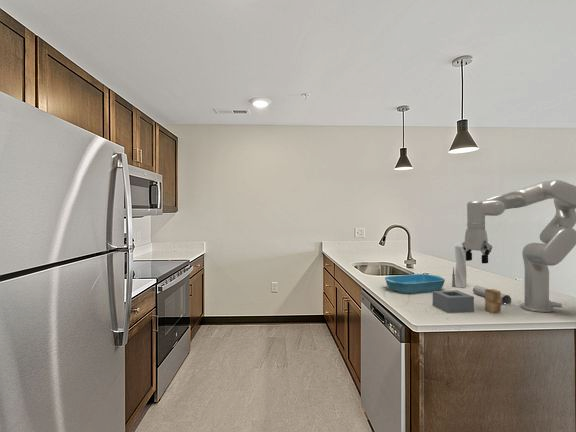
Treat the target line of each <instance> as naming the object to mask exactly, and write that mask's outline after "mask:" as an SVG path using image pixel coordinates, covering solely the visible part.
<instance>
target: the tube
mask: <svg viewBox="0 0 576 432" xmlns="http://www.w3.org/2000/svg"><path fill="white" fill-rule="evenodd" d="M485 289H488V288H486V287H484V286H481V285H475V286H473V287H472V292H473V293H474V294H475V295H477V296H480V297H483V298H485ZM504 303H506V304H509V305H510V304H511V303H512V298H511V296H510V295H509V294H505V293H502V292H501V304H502V305H504ZM504 306H505V305H504Z"/></svg>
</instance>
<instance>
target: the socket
mask: <svg viewBox="0 0 576 432" xmlns="http://www.w3.org/2000/svg"><path fill="white" fill-rule="evenodd" d="M432 306H433V307H436V308H437V309H440V310H441V311H444V312H446V313H448V314H449V313H450V314H451V313H452V314H453V313H471V312H472V313H473V312H474V311H475V297H474V296H473V295H470V294H469V293H465V292H463V291H459V290H456V289H455V290H438V291H432Z"/></svg>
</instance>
